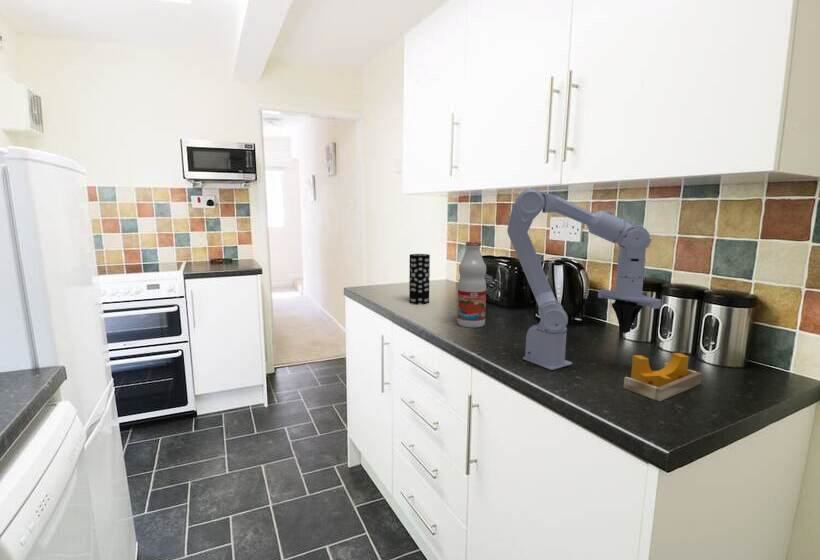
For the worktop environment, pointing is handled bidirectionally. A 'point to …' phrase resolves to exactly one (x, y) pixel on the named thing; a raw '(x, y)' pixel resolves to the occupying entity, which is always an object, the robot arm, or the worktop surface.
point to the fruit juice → (472, 288)
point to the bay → (664, 386)
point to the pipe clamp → (662, 377)
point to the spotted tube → (419, 278)
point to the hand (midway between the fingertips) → (624, 331)
